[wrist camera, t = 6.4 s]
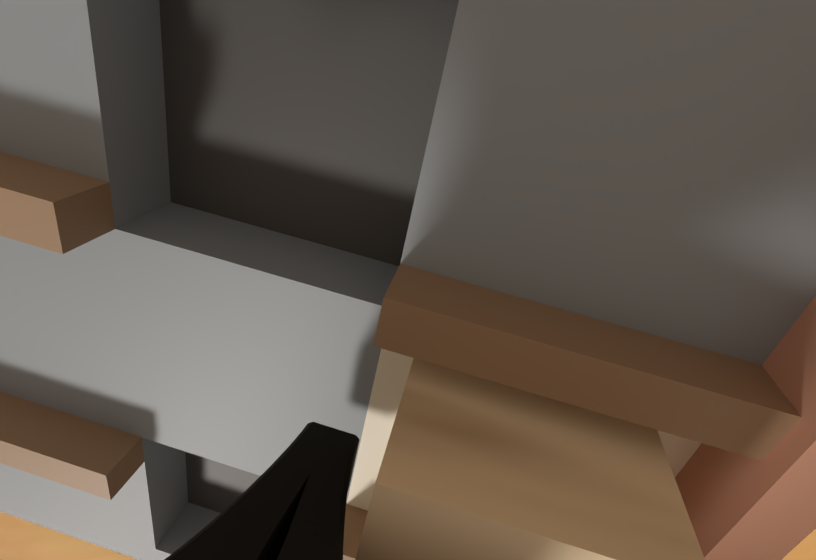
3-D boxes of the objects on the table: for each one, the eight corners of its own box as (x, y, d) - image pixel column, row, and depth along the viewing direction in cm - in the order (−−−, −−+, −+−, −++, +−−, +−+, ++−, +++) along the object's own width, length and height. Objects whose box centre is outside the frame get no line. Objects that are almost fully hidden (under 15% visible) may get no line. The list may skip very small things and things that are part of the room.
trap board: (539, 626, 20) (546, 771, 16) (-2, 445, 22) (-116, 535, 18) (974, 26, 8) (1380, 16, 4) (-248, -242, 10) (-714, -413, 6)
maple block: (561, 543, 13) (578, 723, 10) (379, 485, 14) (334, 638, 10) (649, 408, 11) (717, 591, 7) (418, 341, 11) (375, 482, 7)
